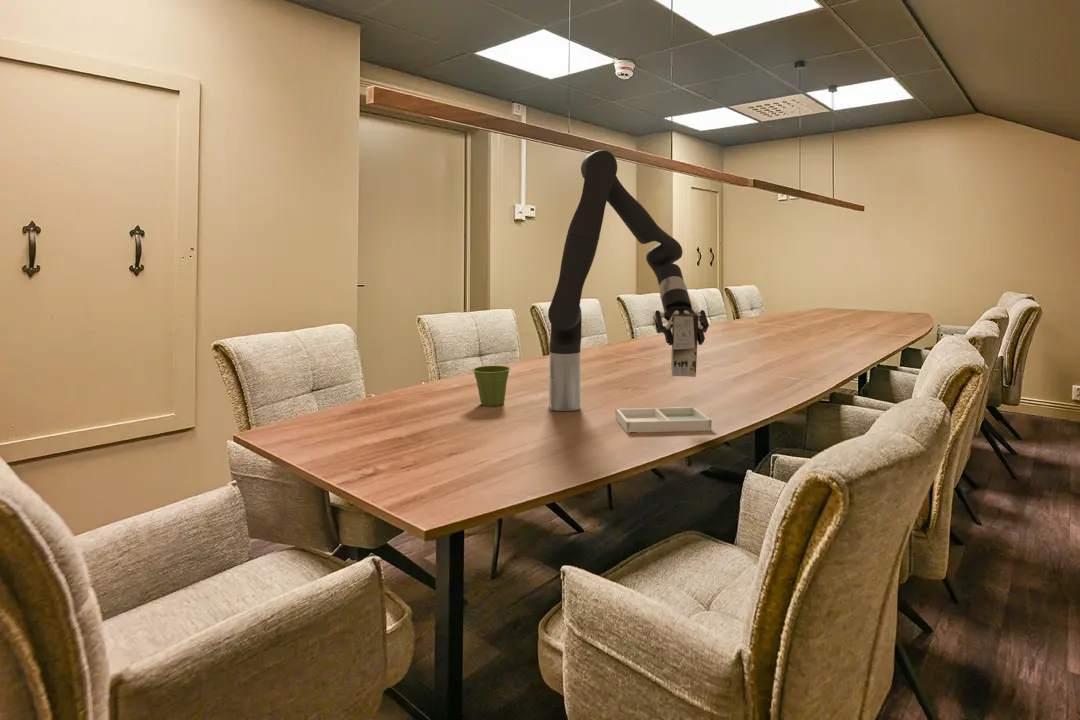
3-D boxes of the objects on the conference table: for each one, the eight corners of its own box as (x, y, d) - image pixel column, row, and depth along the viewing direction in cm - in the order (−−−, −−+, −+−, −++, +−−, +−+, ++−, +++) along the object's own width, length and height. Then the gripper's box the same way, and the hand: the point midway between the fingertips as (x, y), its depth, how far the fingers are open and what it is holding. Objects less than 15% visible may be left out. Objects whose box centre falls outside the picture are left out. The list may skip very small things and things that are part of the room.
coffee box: (696, 377, 161) (699, 315, 158) (671, 376, 162) (673, 315, 159) (694, 370, 170) (696, 312, 167) (670, 370, 171) (672, 312, 168)
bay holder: (626, 432, 159) (626, 422, 158) (615, 418, 173) (615, 408, 173) (711, 430, 161) (711, 420, 160) (693, 416, 175) (693, 406, 174)
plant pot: (478, 399, 199) (477, 365, 197) (514, 400, 197) (513, 365, 195) (468, 407, 187) (467, 371, 185) (507, 409, 186) (506, 372, 184)
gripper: (652, 287, 168) (663, 335, 158) (703, 287, 169) (717, 334, 160) (646, 305, 174) (656, 352, 164) (696, 305, 175) (708, 351, 166)
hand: (686, 343), depth 162 cm, fingers closed on coffee box, 7 cm apart
